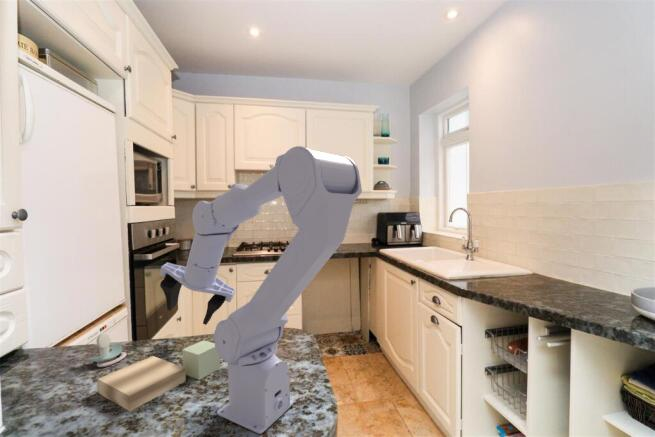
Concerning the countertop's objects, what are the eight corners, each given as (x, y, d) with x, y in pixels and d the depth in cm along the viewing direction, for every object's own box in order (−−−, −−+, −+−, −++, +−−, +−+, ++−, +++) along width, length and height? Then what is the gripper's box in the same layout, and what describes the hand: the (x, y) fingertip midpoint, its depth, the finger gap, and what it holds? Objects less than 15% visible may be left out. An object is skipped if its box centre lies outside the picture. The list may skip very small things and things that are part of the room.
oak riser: (185, 383, 58) (185, 368, 58) (129, 414, 49) (129, 396, 49) (153, 369, 63) (152, 355, 63) (98, 395, 55) (97, 378, 55)
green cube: (220, 368, 62) (219, 344, 62) (199, 380, 58) (198, 354, 58) (204, 363, 65) (203, 340, 65) (183, 374, 61) (182, 349, 61)
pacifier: (133, 354, 70) (110, 353, 71) (133, 328, 70) (110, 326, 71) (106, 371, 63) (81, 369, 64) (106, 341, 63) (81, 339, 64)
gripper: (247, 264, 61) (230, 315, 66) (180, 237, 60) (167, 290, 65) (234, 282, 54) (215, 337, 59) (158, 252, 54) (145, 310, 58)
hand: (189, 314), depth 61 cm, fingers open, 7 cm apart
